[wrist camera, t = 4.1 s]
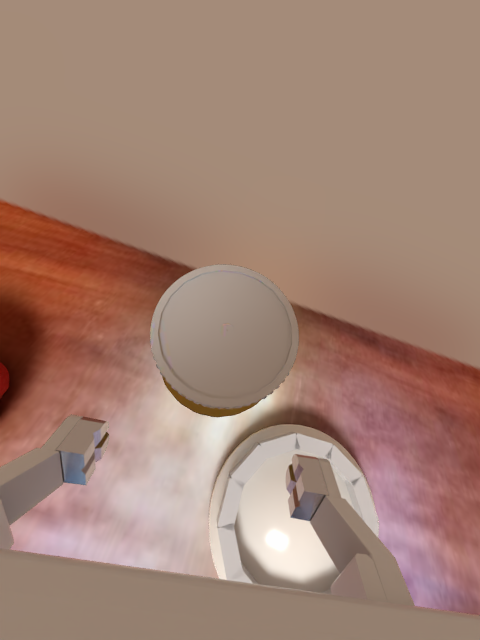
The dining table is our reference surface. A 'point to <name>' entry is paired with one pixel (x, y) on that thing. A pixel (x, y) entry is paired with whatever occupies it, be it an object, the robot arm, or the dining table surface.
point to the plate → (278, 511)
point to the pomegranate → (3, 379)
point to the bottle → (223, 339)
